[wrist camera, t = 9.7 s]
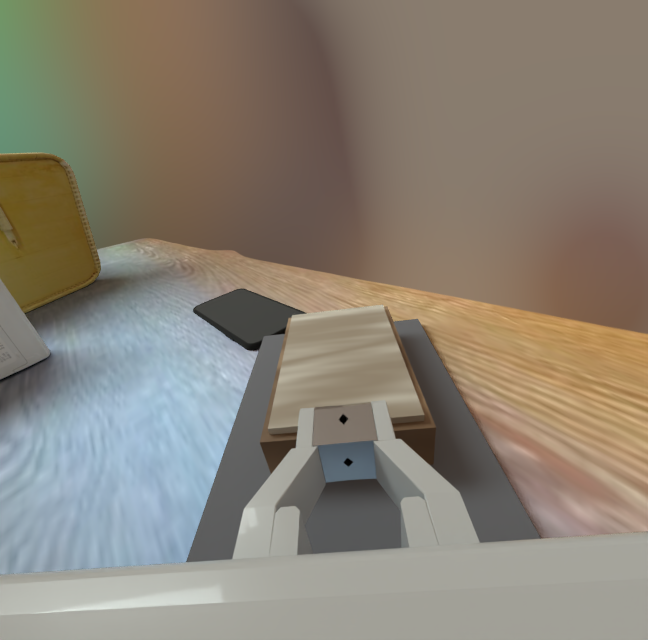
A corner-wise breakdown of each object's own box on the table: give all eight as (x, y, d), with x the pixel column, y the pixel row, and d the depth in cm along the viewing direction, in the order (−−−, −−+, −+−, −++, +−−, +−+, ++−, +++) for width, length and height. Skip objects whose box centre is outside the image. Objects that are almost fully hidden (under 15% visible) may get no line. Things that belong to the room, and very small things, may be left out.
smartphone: (242, 286, 40) (312, 313, 30) (244, 292, 41) (314, 321, 30) (189, 308, 36) (249, 348, 26) (191, 314, 37) (252, 356, 26)
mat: (570, 607, 10) (575, 599, 10) (173, 623, 11) (166, 617, 11) (417, 324, 27) (417, 318, 26) (265, 341, 28) (264, 336, 27)
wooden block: (436, 421, 13) (387, 301, 23) (257, 436, 13) (287, 313, 24) (433, 464, 14) (388, 333, 25) (272, 476, 15) (294, 344, 25)
